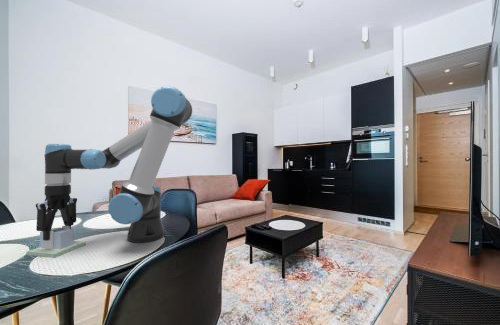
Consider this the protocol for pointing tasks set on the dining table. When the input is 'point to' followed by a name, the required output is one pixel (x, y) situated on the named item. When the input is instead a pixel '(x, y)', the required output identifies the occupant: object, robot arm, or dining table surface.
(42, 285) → the dining table surface
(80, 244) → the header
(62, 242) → the plug
